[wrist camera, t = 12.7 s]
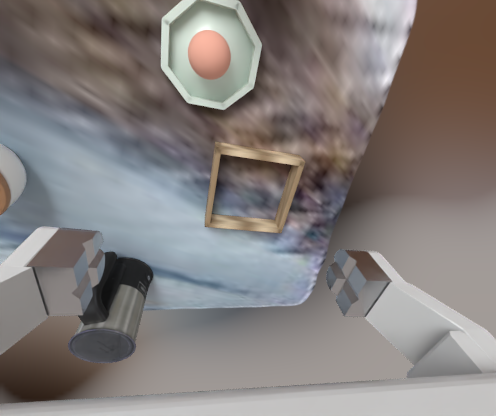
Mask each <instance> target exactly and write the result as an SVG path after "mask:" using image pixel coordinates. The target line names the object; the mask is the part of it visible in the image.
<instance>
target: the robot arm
mask: <svg viewBox="0 0 496 416" xmlns="http://www.w3.org/2000/svg"><path fill="white" fill-rule="evenodd" d="M102 243H103V237H102V233H101V232H100V231H91V230H81V229H70V228H58V227H46V226H43V227H39V228H37V229H36V230H35V231H34V232H33V233H32V234H31V235H30V236H29V237H28V238H27V239H26V240H25V241H24V242H23V243H22V244H21V245H20V246H19V247H18V248H17V249H16V250H15V251H14V252H13V253H12V254H11V255H10V256H9V257H8V258H7V259H6V260H5V261H4V262H3V263H2V264H1V265H0V355H1V354H2V353H4V352H5V351H6V350H7V349H9V348H10V347H11V346H13V345H14V344H15V343H16V342H17V341H19V340H20V339H21V338H23V337H24V336H25V335H26V334H28V333H29V332H30V331H32V330H33V329H34V328H35V327H37V326H38V325H39V324H41V323H42V322H43V321H44V320H46V319H47V318H48V316H65V315H83V314H84V312H85V310H86V308H87V306H88V304H89V302H90V300H91V298H92V296H93V293H92V288H93V287H94V286H96V285H97V284H99V282H100V280H101V277H102V275H103V271H104V267H105V253H104V252H103V251H102V250H101V249H100V247H101V245H102ZM334 258H335V262H334V263H333V264H332V265H330V266H329V268H328V271H327V278H326V280H327V284H328V286H329V288H330V290H331V291H332V292H333V293H334V294H336V295H337V297H336V302H337V304H338V306H339V308H340V309H341V311H342V313H343V315H344V316H346V317H348V316H349V317H365V319H366V320H367V321H368V322H369V323H370V324H371V325H372V326H374V327H375V328H376V329H377V330H378V331H379V332H380V333H381V334H382V335H383V336H384V337H385V338H386V339H387V340H388V341H389V342H391V344H392V345H394V346H395V347H396V348H397V349H398V350H399V351H400V352H401V353H402V354H403V355H404V356H405V357H406V358H407V359H408V360H409V361H410V362H411V363H412V364H414V367H413V368H411V370H409V372H407V378H404V379H389V380H372V381H356V382H341V383H325V384H309V385H293V386H278V387H261V388H246V389H232V390H231V389H230V390H214V391H198V392H183V393H167V394H151V395H136V396H120V397H106V398H89V399H74V400H58V401H42V402H26V403H10V404H0V416H496V339H495V338H494V337H493V336H492V335H491V334H490V333H489V332H488V331H487V330H486V329H484V328H483V327H481V326H479V325H477V324H476V323H474V322H473V321H471V320H469V319H467V318H466V317H464V316H463V315H461V314H459V313H458V312H456V311H454V310H453V309H451V308H450V307H448V306H446V305H445V304H443V303H442V302H440V301H438V300H437V299H435V298H433V297H432V296H430V295H428V294H427V293H425V292H423V291H422V290H420V289H419V288H417V287H415V286H414V285H412V284H410V283H406V282H405V281H404V280H403V279H402V278H401V276H400V275H399V274H398V273H397V272H396V271H395V270H394V269H393V267H392V266H391V265H390V264H389V263H388V262H387V261H386V260H385V259H384V257H383V256H382V255H381V254H380V253H378V252H376V251H358V250H342V249H340V250H339V251H338V252H337V253H336V254H335V256H334Z"/></svg>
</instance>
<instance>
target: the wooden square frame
mask: <svg viewBox="0 0 496 416" xmlns="http://www.w3.org/2000/svg"><path fill="white" fill-rule="evenodd" d="M221 154H224V155H230V156H237V157H244V158H250V159H257V160H263V161H270V162H277V163H283V164H290V165H291V169H290V172H289V175H288V178H287V182H286V185H285V188H284V191H283V194H282V198H281V201H280V204H279V207H278V211H277V214H276V217H275V220H269V219H258V218H248V217H237V216H227V215H216V214H212V207H213V201H214V194H215V188H216V181H217V175H218V168H219V162H220V155H221ZM304 164H305V161H304V160H303V159H302V158H301V157H300V156H299V155H294V154H288V153H282V152H275V151H269V150H263V149H257V148H251V147H245V146H238V145H232V144H226V143H220V142H215V148H214V156H213V163H212V170H211V177H210V185H209V192H208V199H207V206H206V214H205V227H213V228H225V229H237V230H249V231H261V232H273V233H282V230H283V227H284V224H285V221H286V218H287V215H288V212H289V209H290V206H291V203H292V200H293V197H294V194H295V191H296V188H297V185H298V182H299V179H300V176H301V173H302V170H303V167H304Z"/></svg>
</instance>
